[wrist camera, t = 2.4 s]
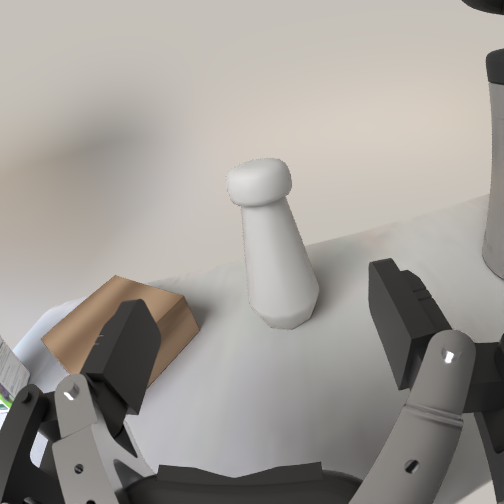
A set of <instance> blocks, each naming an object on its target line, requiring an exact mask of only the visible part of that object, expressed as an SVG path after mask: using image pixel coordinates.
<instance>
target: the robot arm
mask: <svg viewBox="0 0 504 504" xmlns="http://www.w3.org/2000/svg"><path fill="white" fill-rule="evenodd" d="M462 1H463V2H464V3H466V4H467V5H468V6H470V7H472V8H474V9H477V10H480V11H483V12H487V13H493V14H500V15H504V0H462ZM486 69H487V76H488V81H489V82H490V83H489V91H490V102H491V114H492V174H491V189H490V201H489V210H488V218H487V226H486V231H485V236H484V245H483V250H482V251H483V258H484V261H485V262H486V264H487V266H488V267H489V268H490V269H491V270H492V271H493V272H494V273H495V274H497V275H498V276H499V277H501V278H502V279H504V49H499V50H496V51H492V52H490V53H489V54H488V55H487V57H486ZM368 299H369V308H370V313H371V316H372V318H373V321H374V323H375V326H376V329H377V331H378V334H379V336H380V339H381V342H382V344H383V347H384V350H385V352H386V355H387V358H388V361H389V363H390V366H391V369H392V372H393V375H394V378H395V381H396V384H397V387H398V390H403V389H406V388H410V391H411V393H410V395H409V397H408V400H407V402H406V404H405V405H404V406H403V408H402V411H401V413H400V415H399V417H398V419H397V421H396V423H395V425H394V427H393V429H392V431H391V433H390V435H389V437H388V439H387V441H386V443H385V445H384V447H383V448H382V450H381V452H380V454H379V456H378V457H377V459H376V461H375V463H374V464H373V466H372V468H371V469H370V471H369V473H368V474H367V476H366V478H365V479H364V481H363V480H361V479H359V478H357V477H354V476H352V475H349V474H345V473H342V472H336V471H329V470H322V466H321V462H316V463H309V464H301V465H291V466H280V467H275V468H272V469H269V470H265V471H261V472H258V473H254V474H250V475H246V476H242V477H237V478H231V477H227V476H223V475H219V474H215V473H211V472H208V471H204V470H201V469H197V468H192V467H178V466H167V465H159V468H158V473H157V474H155V473H154V472H153V470H152V469H151V468H150V467H149V466H148V465H147V463H146V462H145V460H144V458H143V456H142V454H141V452H140V450H139V448H138V445H137V443H136V441H135V439H134V437H133V435H132V432H131V430H130V428H129V425H128V424H127V422H126V421H125V420H124V419H125V416H126V414H131V415H139V412H140V408H141V405H142V402H143V398H144V395H145V392H146V388H147V385H148V382H149V379H150V376H151V373H152V369H153V366H154V363H155V360H156V357H157V354H158V351H159V348H160V345H161V333H160V330H159V328H158V326H157V324H156V322H155V320H154V318H153V317H152V315H151V313H150V311H149V309H148V307H147V305H146V303H145V302H144V300H142V299H134V300H127V301H122V302H121V304H120V305H119V307H118V309H117V311H116V313H115V314H114V315H113V316H112V317H111V318H110V319H109V320H108V321H107V322H106V323H105V324H104V326H103V328H102V330H101V332H100V334H99V337H97V339H96V341H95V345H93V347H92V349H91V351H90V353H89V355H88V357H87V359H86V361H85V362H84V364H83V367H82V369H81V371H80V373H79V374H72V375H69V376H67V377H66V378H64V379H63V380H62V381H61V382H60V383H59V384H58V386H57V388H56V390H55V391H53V392H49V393H43V392H42V391H41V390H40V389H39V388H38V387H37V386H36V385H34V384H30V385H27V386H25V387H23V388H22V389H21V390H20V391H19V392H18V393H17V395H16V397H15V399H14V401H13V403H12V405H11V407H10V410H9V412H8V414H7V416H6V418H5V421H4V423H3V425H2V428H1V430H0V504H432V503H433V501H434V499H435V497H436V494H437V492H438V490H439V488H440V486H441V484H442V481H443V479H444V477H445V475H446V472H447V470H448V467H449V465H450V462H451V460H452V457H453V454H454V452H455V449H456V446H457V443H458V440H459V437H460V434H461V431H462V427H463V420H461V415H462V413H472V412H473V413H474V416H475V419H476V422H477V425H478V428H479V431H480V435H481V438H482V441H483V445H484V448H485V452H486V456H487V460H488V463H489V467H490V472H491V476H492V480H493V485H494V490H495V495H496V501H497V504H504V334H503V335H502V337H501V340H500V342H494V343H474V342H473V341H472V339H471V338H470V337H469V336H468V335H466V334H465V333H463V332H460V331H457V330H453V329H452V328H451V326H450V325H449V323H448V321H447V320H446V318H445V316H444V315H443V313H442V311H441V310H440V308H439V307H438V305H437V304H436V302H435V300H434V299H433V298H432V296H431V294H430V293H429V291H428V290H426V287H425V285H424V284H423V282H422V281H421V279H420V278H419V277H418V276H416V275H415V274H413V273H412V272H410V271H409V270H405V271H400V270H399V268H398V267H397V265H396V264H395V262H394V261H393V259H391V258H388V259H383V260H378V261H373V262H370V263H369V296H368ZM37 432H40V433H41V434H42V435H43V436H44V437H46V438H47V439H48V442H47V445H46V448H45V451H44V454H43V457H42V461H41V464H40V467H39V468H38V467H36V466H35V465H34V464H33V463H32V462H31V459H30V451H31V448H32V445H33V443H34V440H35V437H36V434H37Z"/></svg>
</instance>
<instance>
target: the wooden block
mask: <svg viewBox="0 0 504 504" xmlns="http://www.w3.org/2000/svg"><path fill="white" fill-rule="evenodd" d="M134 299H142V300H144V302H145V303H146V305H147V307H148V309H149V311H150V313H151V315H152V317H153V318H154V320H155V322H156V324H157V326H158V328H159V330H160V333H161V345H160V348H159V351H158V354H157V357H156V360H155V363H154V366H153V369H152V373H151V376H150V379H149V382H148V385H147V388H148V387H149V385H150V384H151V383H152V382H153V381H154V380H155V379H156V378H157V377H158V376H159V375H160V373H161V372H162V371H163V370H164V369H165V368H166V367H167V366H168V365H169V364H170V363H171V361H172V360H173V359H174V358H175V357H176V356H177V355H178V354H179V353H180V352H181V350H182V349H183V348H184V347H185V346H186V345H187V344H188V343H189V342H190V340H191V339H192V338H193V337H194V336H195V335H196V334H197V333H198V332H199V331H200V330H199V328H198V326H197V323H196V321H195V319H194V317H193V315H192V313H191V311H190V308H189V306H188V304H187V302H186V300H185V298H184V296H182V295H179V294H175V293H172V292H168V291H165V290H162V289H158V288H155V287H151V286H148V285H145V284H142V283H138V282H135V281H132V280H129V279H125V278H122V277H119V276H116V275H115V276H114V277H112V278H111V279H110V280H109V281H108V282H106V283H105V284H104V285H103V286H101V287H100V288H99V289H98V290H97V291H95V292H94V293H93V294H92V295H90V296H89V297H88V298H87V299H86V300H85V301H83V302H82V303H81V304H80V305H79V306H77V307H76V308H75V309H74V310H73V311H72V312H70V313H69V314H68V315H67V316H66V317H65V318H64V319H62V320H61V321H60V322H59V323H58V324H57V325H56V326H54V327H53V328H52V329H51V330H50V331H49V332H48V333H47V334H46V335H44V336H43V337H42V338H41V340H42V341H43V343H44V344H45V345H46V347H47V348H48V349H49V350H50V352H51V353H52V354H53V355H54V357H55V358H56V359H57V360H58V362H59V363H60V364H61V365H62V366H63V367H64V369H65V370H66V371H67V372H68V373H69V374H70V375H72V374H79V373H80V371H81V369H82V367H83V364H84V362H85V361H86V359H87V357H88V355H89V353H90V351H91V349H92V347H93V345H95V341H96V339H97V337H99V334H100V332H101V330H102V328H103V326H104V324H105V323H106V322H107V321H108V320H109V319H110V318H111V317H112V316H113V315H114V314H115V313H116V311H117V309H118V307H119V305H120V304H121V302H122V301H127V300H134ZM147 388H146V389H147Z"/></svg>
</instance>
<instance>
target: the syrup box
mask: <svg viewBox="0 0 504 504" xmlns="http://www.w3.org/2000/svg"><path fill="white" fill-rule="evenodd" d="M29 376H30V372H29V371H28V370H27V369H26V368H25V366H24V365H23V364H22V363H21V362H20V361H19V359H18V358H17V357H16V356H15V354H14V353H13V352H12V351H11V349H10V348H9V347H8V345H7V344H6V343H5V342H4V340H3V339H2V338H1V336H0V413H5V412H9V410H10V407H11V405H12V403H13V401H14V399H15V397H16V395H17V393H18V392H19V391H20V390H21V389H22V388H23V387H25V386H27V383H28V380H29Z"/></svg>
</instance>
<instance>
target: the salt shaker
mask: <svg viewBox="0 0 504 504" xmlns="http://www.w3.org/2000/svg"><path fill="white" fill-rule="evenodd" d="M226 183H227V191H228V194H229V197H230V199H231V201H232V202H233V203H234V204H236V205H238V206H241V214H242V226H243V239H244V251H245V263H246V275H247V287H248V297H249V304H250V306H251V308H252V309H253V310H254V311H255V312H256V313H257V314H258V315H259V316H260V317H261V318H262V319H263V320H264V321H265V322H266V323H267V324H268V325H269V326H270V327H271V328H281V329H294V328H296V327H297V326H299V325H300V324H302V323H303V322H305V321H306V320H308V319H310V317H311V314H312V312H313V309H314V307H315V304H316V301H317V298H318V294H319V285H318V282H317V279H316V277H315V274H314V271H313V269H312V266H311V264H310V261H309V258H308V255H307V253H306V250H305V247H304V244H303V242H302V239H301V236H300V234H299V231H298V228H297V226H296V223H295V220H294V218H293V215H292V212H291V210H290V207H289V205H288V202H287V199H286V197H285V196H286V195H288V194H289V192H290V191H291V188H292V181H291V174H290V172H289V169H288V167H287V165H286V164H285V163H284V162H283V161H281V160H280V159H275V158H264V159H256V160H251V161H248V162H245V163H243V164H240V165H238V166H236V167H234V168H233V169H232V170H230V171H229V173H228V175H227V176H226Z"/></svg>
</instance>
